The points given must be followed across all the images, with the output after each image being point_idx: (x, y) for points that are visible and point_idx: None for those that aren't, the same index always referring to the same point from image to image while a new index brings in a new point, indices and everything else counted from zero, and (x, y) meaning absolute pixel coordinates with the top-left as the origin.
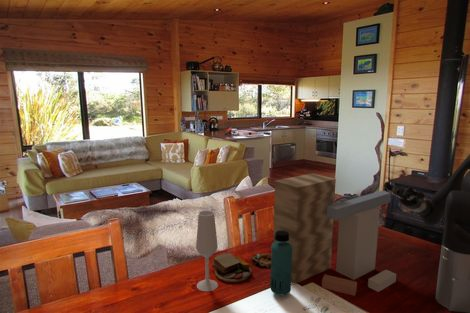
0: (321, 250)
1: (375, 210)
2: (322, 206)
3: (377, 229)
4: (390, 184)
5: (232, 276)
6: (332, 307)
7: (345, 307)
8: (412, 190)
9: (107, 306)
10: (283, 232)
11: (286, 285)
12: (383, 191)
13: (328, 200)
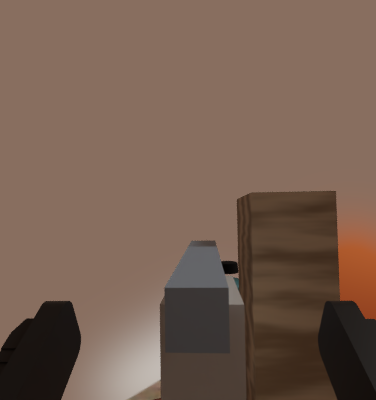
0: (250, 373)
1: (164, 297)
2: (246, 255)
3: (161, 391)
4: (370, 384)
5: None
6: (156, 384)
7: (140, 393)
8: (14, 346)
9: None
10: (225, 261)
11: None
12: (210, 285)
13: (249, 246)
